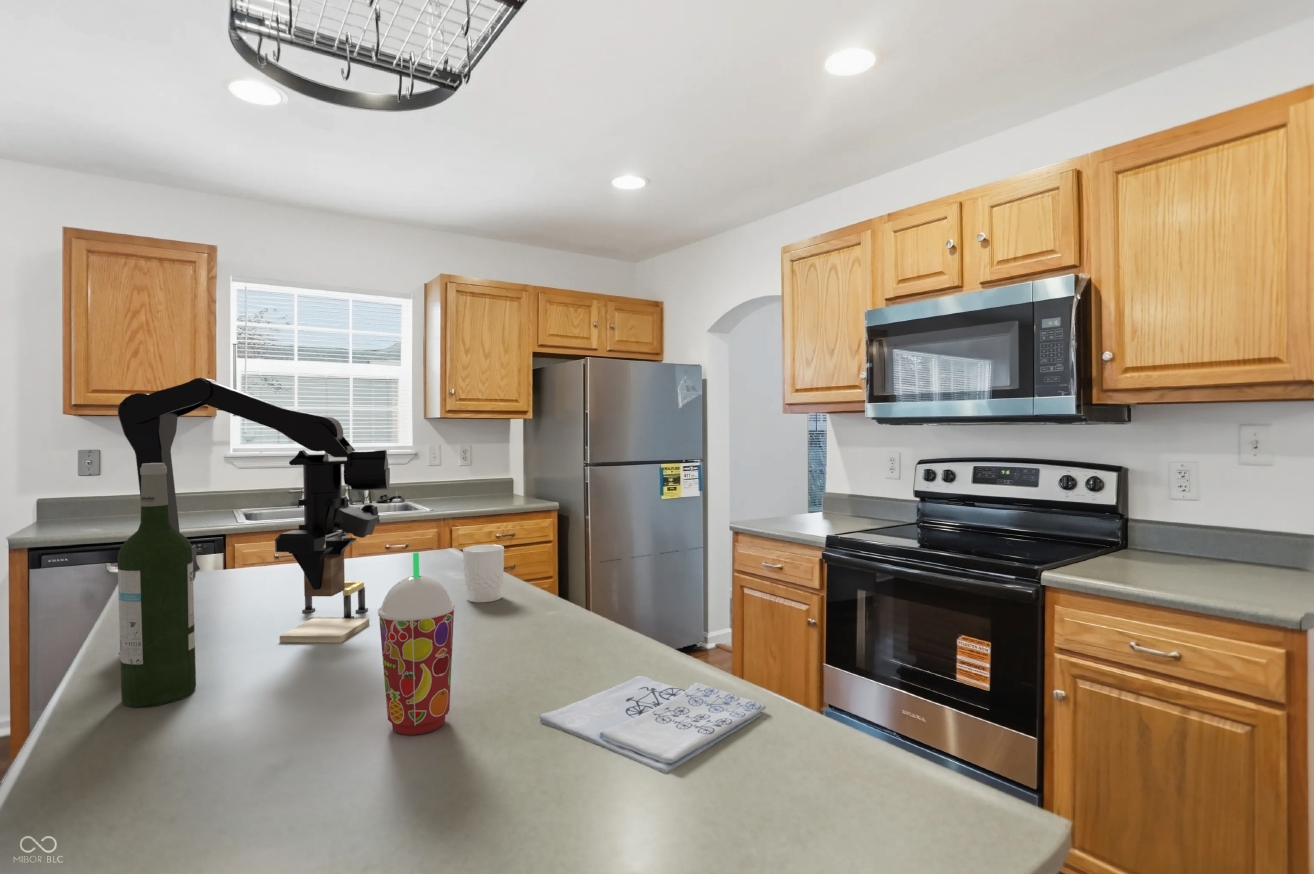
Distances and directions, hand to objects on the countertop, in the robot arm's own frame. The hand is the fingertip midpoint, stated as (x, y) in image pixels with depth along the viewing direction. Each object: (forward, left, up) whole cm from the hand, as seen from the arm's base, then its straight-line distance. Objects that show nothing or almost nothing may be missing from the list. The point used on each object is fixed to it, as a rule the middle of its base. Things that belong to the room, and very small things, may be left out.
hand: (324, 585), depth 119 cm
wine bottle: (-27, +8, -8) cm, 29 cm away
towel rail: (+10, +5, -8) cm, 14 cm away
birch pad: (0, 0, -8) cm, 8 cm away
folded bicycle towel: (-32, -56, -9) cm, 65 cm away
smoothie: (-35, -29, -8) cm, 46 cm away
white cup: (+23, -20, -8) cm, 32 cm away
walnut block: (0, 0, -1) cm, 1 cm away
